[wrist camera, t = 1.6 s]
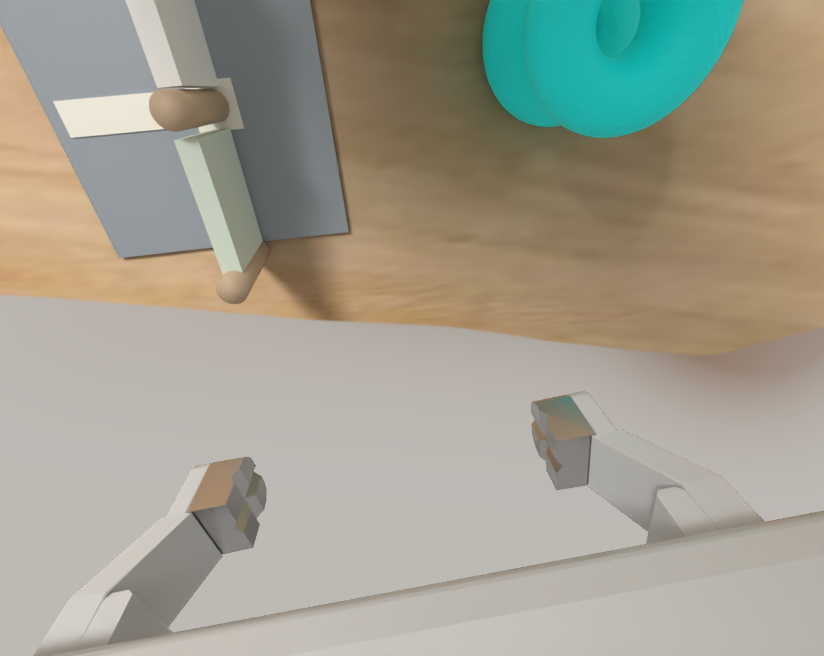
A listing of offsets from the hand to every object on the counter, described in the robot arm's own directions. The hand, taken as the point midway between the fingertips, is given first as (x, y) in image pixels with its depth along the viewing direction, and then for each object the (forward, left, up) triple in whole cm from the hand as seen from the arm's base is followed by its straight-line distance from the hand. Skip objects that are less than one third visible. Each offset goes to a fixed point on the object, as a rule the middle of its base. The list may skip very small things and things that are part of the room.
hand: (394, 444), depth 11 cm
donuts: (-11, +13, -22) cm, 28 cm away
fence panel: (-3, -9, -22) cm, 23 cm away
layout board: (-9, -10, -22) cm, 26 cm away
